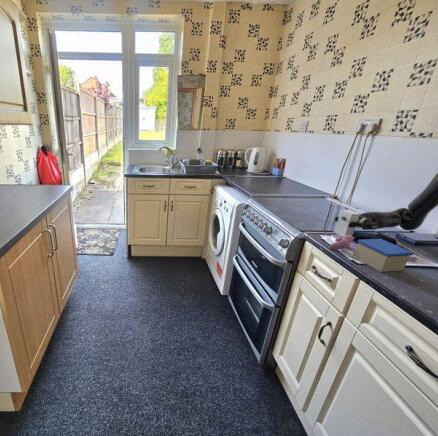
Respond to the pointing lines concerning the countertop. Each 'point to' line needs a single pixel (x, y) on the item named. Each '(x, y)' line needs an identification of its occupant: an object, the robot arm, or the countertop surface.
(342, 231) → the white case
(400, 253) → the container
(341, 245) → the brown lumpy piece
